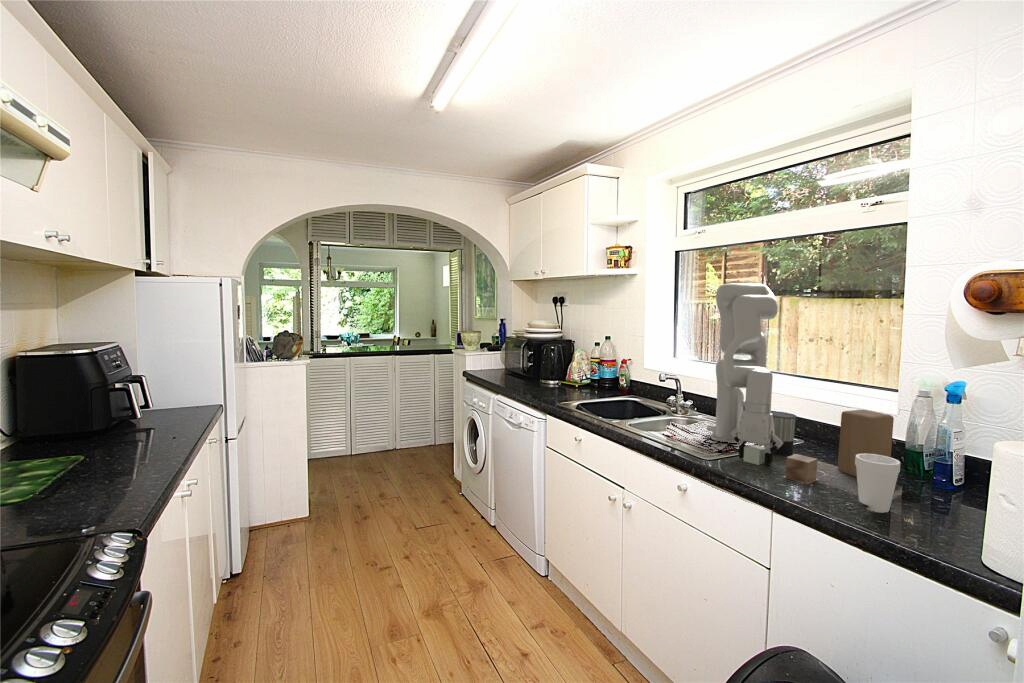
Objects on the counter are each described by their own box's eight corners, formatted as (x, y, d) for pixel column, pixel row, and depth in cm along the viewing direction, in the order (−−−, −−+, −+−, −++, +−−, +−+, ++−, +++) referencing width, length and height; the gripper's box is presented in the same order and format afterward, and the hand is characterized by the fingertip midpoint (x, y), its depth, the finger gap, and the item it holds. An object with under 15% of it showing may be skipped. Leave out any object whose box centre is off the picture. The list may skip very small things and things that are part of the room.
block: (857, 470, 164) (862, 408, 162) (890, 480, 154) (895, 415, 153) (835, 473, 160) (840, 410, 158) (867, 484, 151) (872, 417, 149)
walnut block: (785, 477, 152) (786, 457, 152) (794, 473, 156) (796, 453, 155) (806, 482, 147) (808, 462, 147) (816, 478, 151) (817, 458, 151)
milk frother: (795, 455, 179) (798, 413, 178) (790, 466, 166) (792, 421, 165) (751, 448, 187) (753, 408, 186) (743, 458, 174) (745, 415, 173)
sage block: (743, 464, 167) (744, 446, 167) (751, 462, 170) (752, 444, 170) (758, 469, 163) (759, 450, 163) (766, 466, 166) (767, 448, 166)
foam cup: (898, 507, 134) (902, 459, 133) (894, 518, 127) (898, 467, 126) (855, 497, 140) (858, 451, 139) (849, 507, 133) (852, 458, 132)
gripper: (726, 404, 170) (723, 456, 171) (779, 414, 156) (776, 470, 157) (738, 402, 174) (735, 452, 176) (791, 411, 161) (787, 466, 162)
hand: (754, 460), depth 167 cm, fingers open, 7 cm apart
